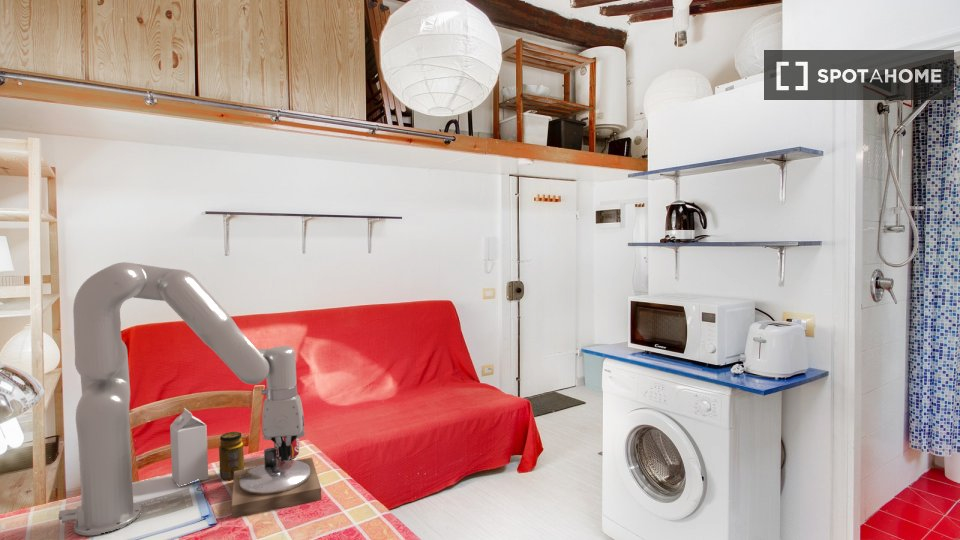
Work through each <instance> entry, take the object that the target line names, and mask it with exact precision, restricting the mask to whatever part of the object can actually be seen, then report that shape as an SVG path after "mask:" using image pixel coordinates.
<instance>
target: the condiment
mask: <svg viewBox="0 0 960 540" xmlns="http://www.w3.org/2000/svg"><path fill="white" fill-rule="evenodd" d="M219 439H220V442H219V443H220V445H219V447H218V457H219V460H218V461H219V478H220V479H221V480H222V479H223V480H222V481H232V480H234V471H237V470H243V469H245V459H244V458H245V457H244V456H245V455H244V442H243V441H242V439H243V438H242V433H241V432H240V431H228V432H225V433H224V434H222V435H220V438H219Z"/></svg>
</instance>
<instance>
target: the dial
mask: <svg viewBox="0 0 960 540" xmlns="http://www.w3.org/2000/svg"><path fill="white" fill-rule="evenodd" d="M263 454H264V455H263V456H264V457H263V459H264V461H263V462H264V463H263V464H259V465H257V466H254V467H251V468H252V469H250V470H248V471H247V472H245V473H244V474H243V475H242V476H241V478H240V489H241V490H242V491H244V492H246V493H249V494H254V495H270V494H277V493H281V492H285V491H288V490H291V489H294V488H296V487H298V486H300V485H302V484H303V483H305V482H306V481H307V480H308V479H309V477H310V467H309V465H308V464H306V463H304V462H300V461H295V460H293V459H291V460H288V461H285V460H284V461H281V460H278V459H277V458H276V448H274V447H268V448H265V449H264V452H263Z"/></svg>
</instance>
